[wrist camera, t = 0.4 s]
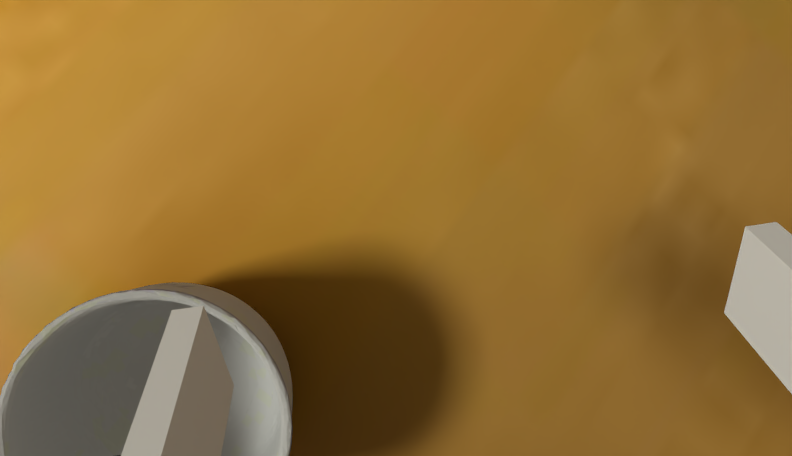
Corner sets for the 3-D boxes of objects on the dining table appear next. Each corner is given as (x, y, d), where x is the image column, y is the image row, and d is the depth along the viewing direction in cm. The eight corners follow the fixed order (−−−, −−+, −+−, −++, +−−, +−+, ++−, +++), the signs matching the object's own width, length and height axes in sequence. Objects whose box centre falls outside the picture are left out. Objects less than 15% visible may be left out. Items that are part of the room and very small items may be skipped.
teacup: (206, 230, 30) (152, 230, 22) (351, 386, 31) (349, 441, 23) (-6, 420, 29) (-142, 490, 21) (144, 577, 30) (67, 704, 22)
